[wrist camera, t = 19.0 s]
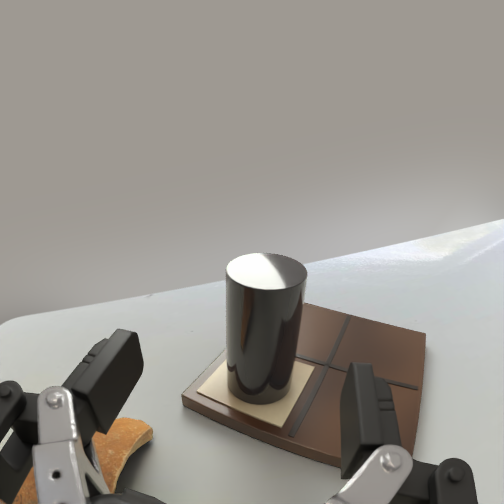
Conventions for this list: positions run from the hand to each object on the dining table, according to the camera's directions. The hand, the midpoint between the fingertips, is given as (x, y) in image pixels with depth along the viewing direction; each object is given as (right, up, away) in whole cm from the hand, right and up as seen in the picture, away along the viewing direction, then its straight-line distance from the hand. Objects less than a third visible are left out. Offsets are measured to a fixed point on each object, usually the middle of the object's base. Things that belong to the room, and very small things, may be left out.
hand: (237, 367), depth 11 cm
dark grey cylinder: (+1, -5, +11) cm, 12 cm away
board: (+6, -6, +13) cm, 16 cm away
